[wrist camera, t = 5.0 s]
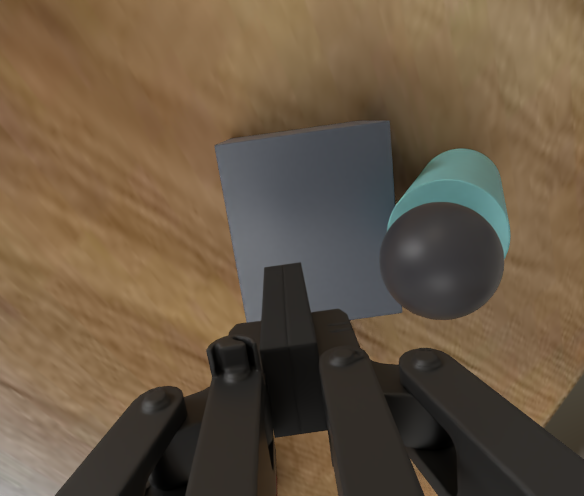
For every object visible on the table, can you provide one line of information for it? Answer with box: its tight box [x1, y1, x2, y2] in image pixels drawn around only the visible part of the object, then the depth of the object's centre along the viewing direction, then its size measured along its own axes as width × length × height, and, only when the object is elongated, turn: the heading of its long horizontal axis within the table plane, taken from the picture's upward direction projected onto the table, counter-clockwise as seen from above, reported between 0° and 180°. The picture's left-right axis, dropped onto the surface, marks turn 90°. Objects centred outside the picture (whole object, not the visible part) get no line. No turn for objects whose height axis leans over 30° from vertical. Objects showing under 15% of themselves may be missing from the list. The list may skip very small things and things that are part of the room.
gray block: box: [215, 121, 402, 323], centre depth 30 cm, size 10×12×9 cm
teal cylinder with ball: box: [379, 149, 510, 320], centre depth 26 cm, size 12×6×19 cm, turn 98°
